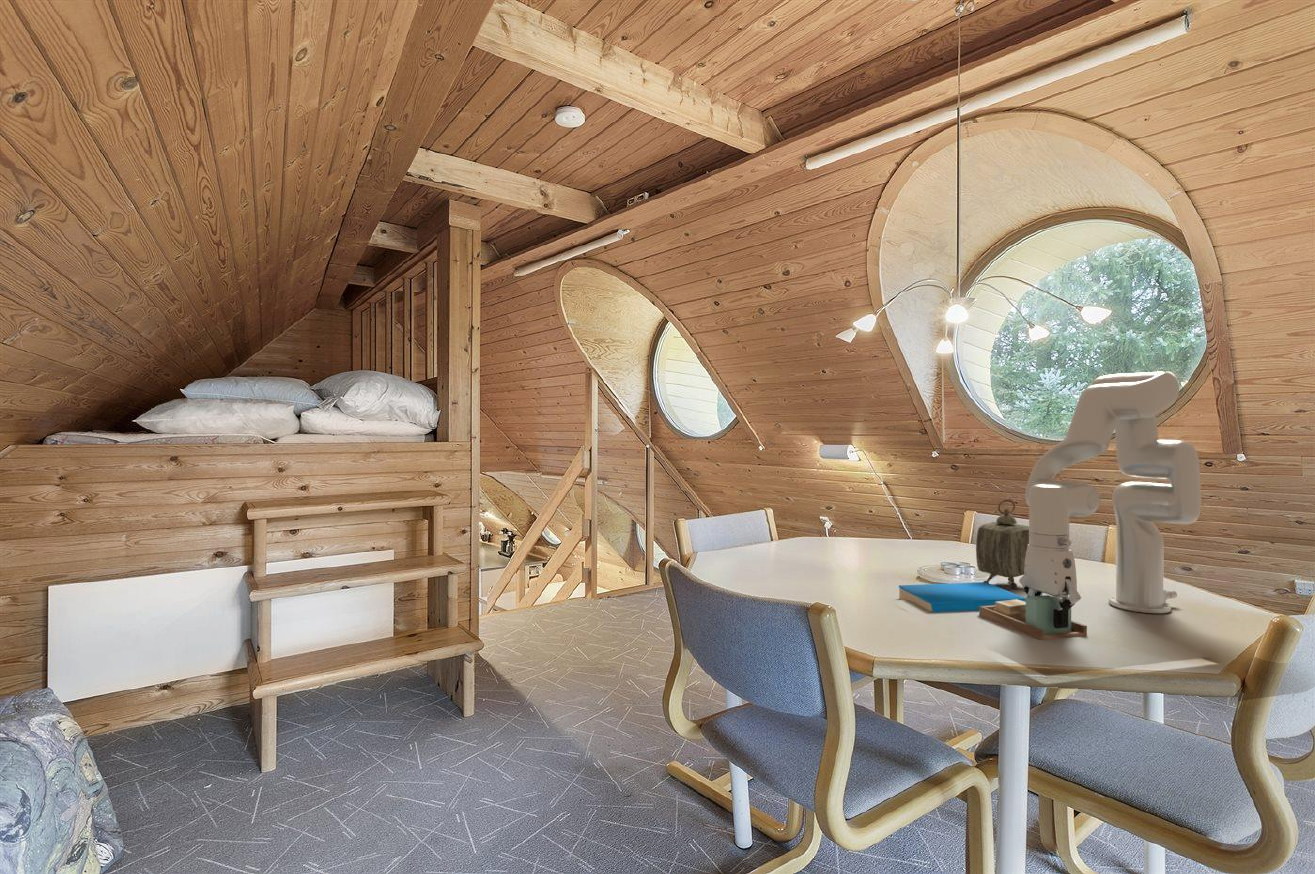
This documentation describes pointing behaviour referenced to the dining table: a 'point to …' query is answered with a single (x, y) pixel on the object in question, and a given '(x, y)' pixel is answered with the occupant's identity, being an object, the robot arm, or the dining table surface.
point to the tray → (1028, 629)
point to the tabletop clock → (1002, 546)
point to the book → (955, 596)
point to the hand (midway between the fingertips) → (1048, 621)
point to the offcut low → (1014, 615)
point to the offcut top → (1011, 606)
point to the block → (1044, 614)
